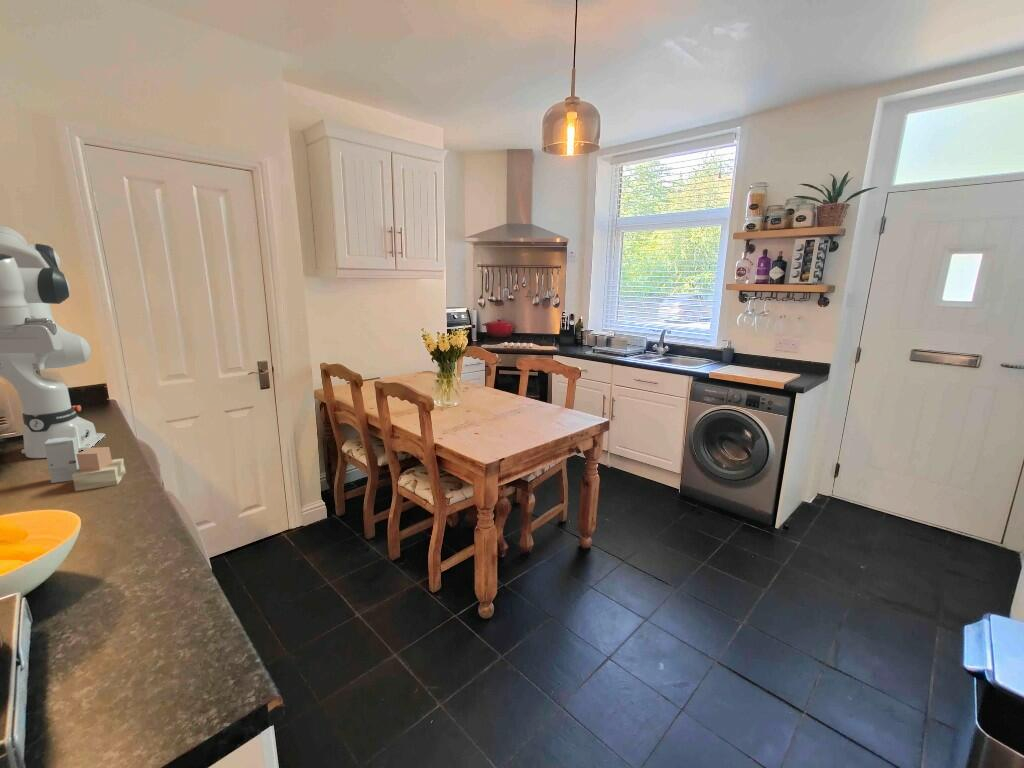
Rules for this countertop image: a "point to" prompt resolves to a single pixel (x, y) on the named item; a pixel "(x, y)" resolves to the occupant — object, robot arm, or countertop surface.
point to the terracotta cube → (94, 458)
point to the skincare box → (62, 458)
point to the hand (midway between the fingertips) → (18, 369)
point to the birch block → (100, 476)
